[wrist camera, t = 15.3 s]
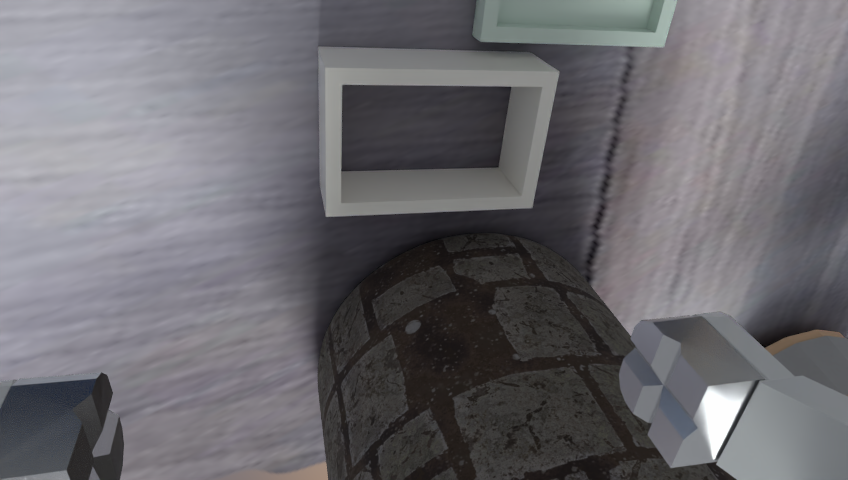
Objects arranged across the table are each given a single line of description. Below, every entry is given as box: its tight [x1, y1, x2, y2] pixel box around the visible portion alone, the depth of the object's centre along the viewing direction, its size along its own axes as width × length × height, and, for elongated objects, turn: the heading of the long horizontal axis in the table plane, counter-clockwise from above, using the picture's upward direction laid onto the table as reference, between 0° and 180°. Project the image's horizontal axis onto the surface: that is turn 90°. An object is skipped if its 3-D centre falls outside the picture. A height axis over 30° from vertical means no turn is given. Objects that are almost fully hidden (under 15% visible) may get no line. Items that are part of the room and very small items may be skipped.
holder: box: [318, 46, 559, 217], centre depth 41 cm, size 15×10×5 cm, turn 85°
